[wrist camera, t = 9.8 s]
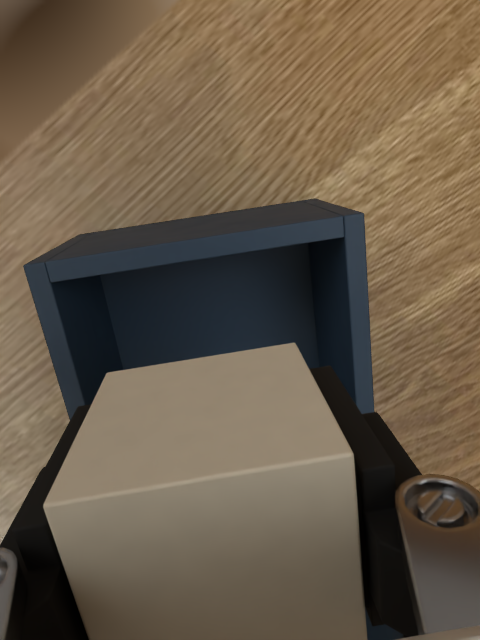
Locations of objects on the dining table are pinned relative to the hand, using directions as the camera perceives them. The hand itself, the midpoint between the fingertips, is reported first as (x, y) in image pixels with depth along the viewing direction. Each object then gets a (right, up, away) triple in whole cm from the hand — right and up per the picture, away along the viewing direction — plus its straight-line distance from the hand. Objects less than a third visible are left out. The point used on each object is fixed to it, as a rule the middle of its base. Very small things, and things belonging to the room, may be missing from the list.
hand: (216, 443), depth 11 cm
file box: (-1, +1, +16) cm, 16 cm away
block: (0, 0, 0) cm, 0 cm away
